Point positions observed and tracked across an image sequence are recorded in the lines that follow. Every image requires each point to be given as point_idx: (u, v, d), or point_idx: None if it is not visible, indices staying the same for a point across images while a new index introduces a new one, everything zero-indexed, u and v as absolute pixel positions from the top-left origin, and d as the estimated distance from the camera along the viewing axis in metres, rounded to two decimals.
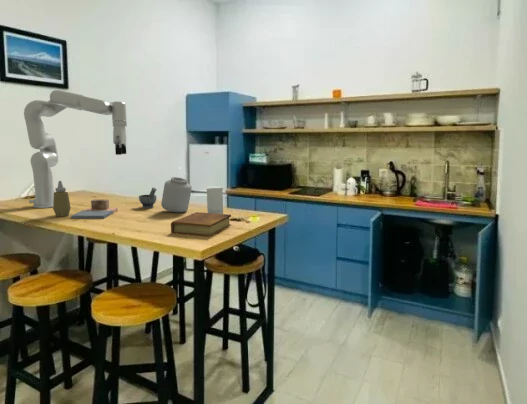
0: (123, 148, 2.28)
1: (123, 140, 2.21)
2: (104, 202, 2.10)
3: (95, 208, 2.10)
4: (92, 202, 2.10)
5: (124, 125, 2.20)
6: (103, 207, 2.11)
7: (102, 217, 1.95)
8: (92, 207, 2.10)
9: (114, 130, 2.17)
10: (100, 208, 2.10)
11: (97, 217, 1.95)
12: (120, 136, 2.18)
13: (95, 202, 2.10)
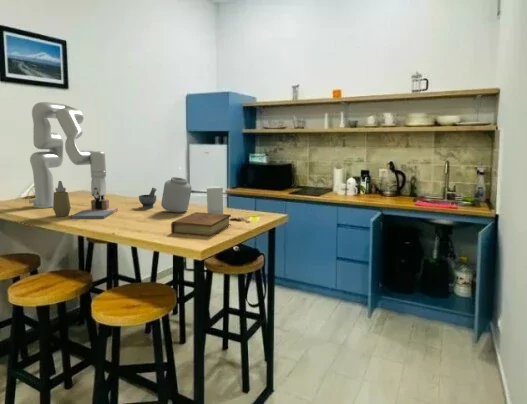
0: None
1: (102, 192, 2.09)
2: (104, 202, 2.10)
3: (95, 208, 2.10)
4: (92, 202, 2.10)
5: (103, 176, 2.08)
6: (103, 207, 2.11)
7: (102, 217, 1.95)
8: (92, 207, 2.10)
9: (92, 182, 2.05)
10: None
11: (97, 217, 1.95)
12: (98, 188, 2.06)
13: None
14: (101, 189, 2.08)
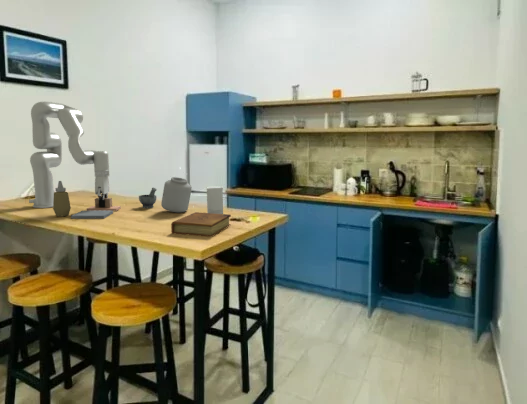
0: None
1: (105, 190, 2.15)
2: (107, 200, 2.15)
3: None
4: (96, 200, 2.15)
5: (106, 175, 2.13)
6: (106, 206, 2.16)
7: (102, 217, 1.95)
8: (96, 205, 2.16)
9: (96, 181, 2.11)
10: None
11: (97, 217, 1.95)
12: (102, 187, 2.11)
13: None
14: (104, 188, 2.13)
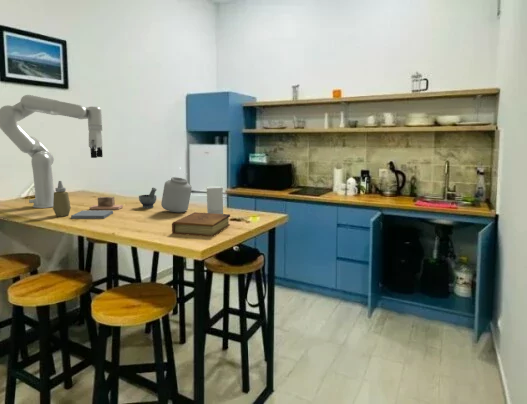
0: (99, 152, 2.36)
1: (98, 144, 2.29)
2: (110, 199, 2.20)
3: (101, 205, 2.20)
4: (99, 199, 2.20)
5: (99, 129, 2.28)
6: (109, 204, 2.20)
7: (102, 217, 1.95)
8: (98, 204, 2.20)
9: (89, 134, 2.25)
10: (106, 205, 2.20)
11: (97, 217, 1.95)
12: (95, 140, 2.26)
13: (101, 199, 2.20)
14: (98, 141, 2.27)
